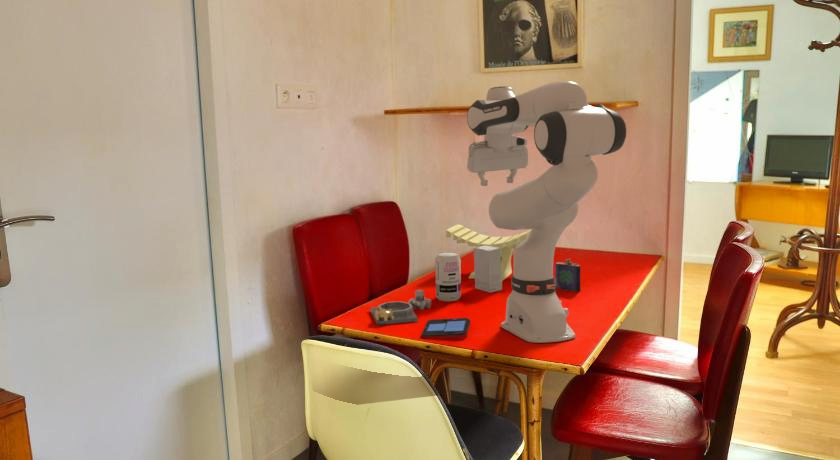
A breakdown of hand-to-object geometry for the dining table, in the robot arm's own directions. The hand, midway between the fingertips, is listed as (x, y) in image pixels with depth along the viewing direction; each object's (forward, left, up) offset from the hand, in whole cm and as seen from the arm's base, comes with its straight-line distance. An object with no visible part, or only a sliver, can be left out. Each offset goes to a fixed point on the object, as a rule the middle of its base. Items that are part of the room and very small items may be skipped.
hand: (497, 184), depth 204 cm
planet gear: (+2, +25, -38) cm, 46 cm away
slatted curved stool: (+34, -10, -38) cm, 52 cm away
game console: (-23, +23, -39) cm, 51 cm away
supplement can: (+8, +14, -38) cm, 41 cm away
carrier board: (-6, +35, -38) cm, 52 cm away
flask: (+7, -28, -38) cm, 48 cm away
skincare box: (+15, -2, -38) cm, 41 cm away
